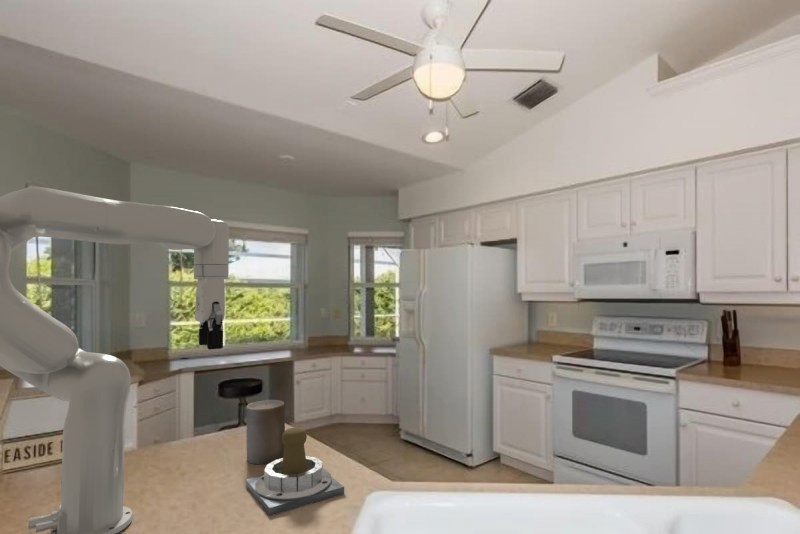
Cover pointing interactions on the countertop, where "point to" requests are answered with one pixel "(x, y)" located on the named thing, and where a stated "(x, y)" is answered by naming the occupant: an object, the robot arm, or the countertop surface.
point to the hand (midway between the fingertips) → (210, 346)
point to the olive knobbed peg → (294, 451)
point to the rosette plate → (293, 503)
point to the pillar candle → (265, 431)
